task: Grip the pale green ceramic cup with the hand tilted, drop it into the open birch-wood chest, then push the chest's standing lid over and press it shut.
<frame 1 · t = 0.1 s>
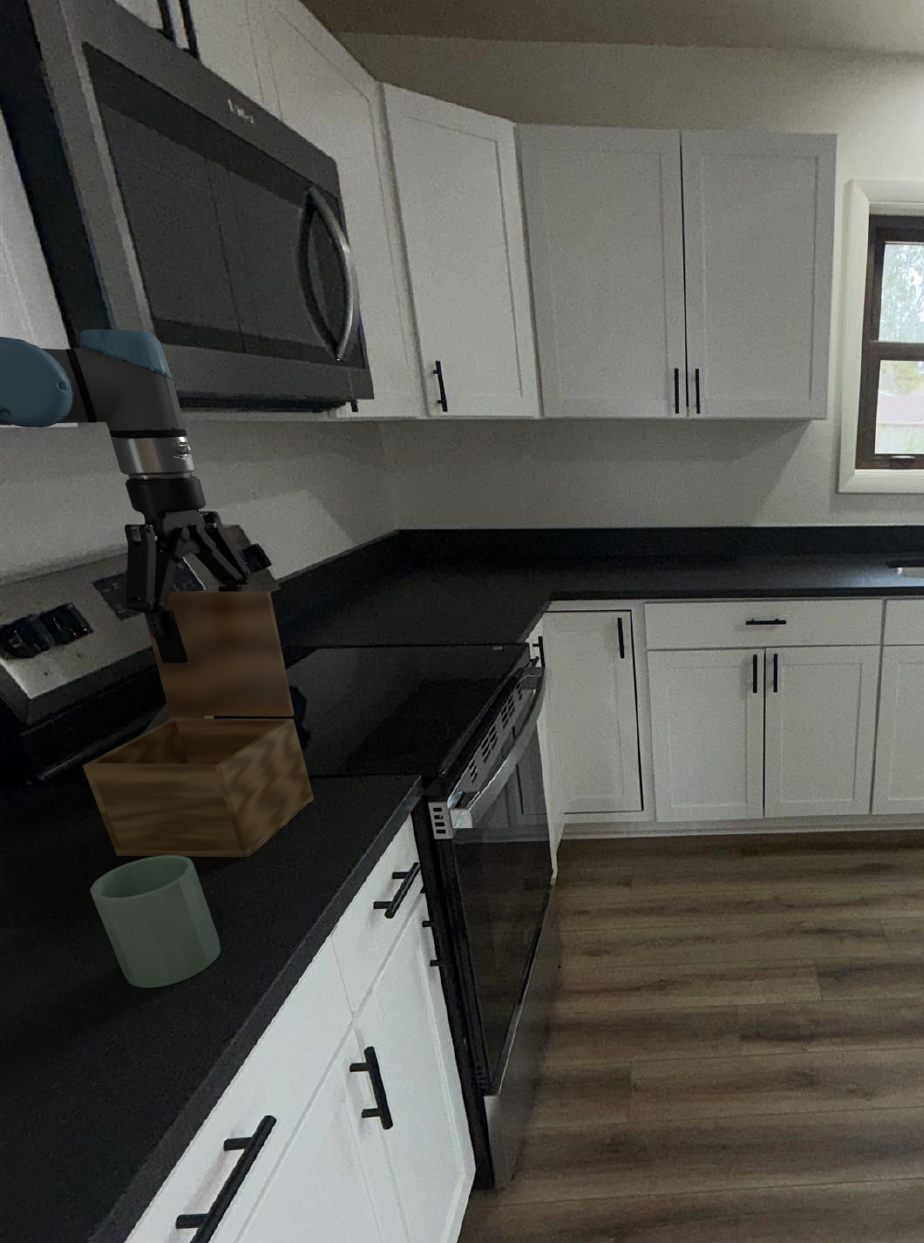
hand: (211, 647, 105), 22 cm above the counter, tool pointing down, fingers open, 13 cm apart
cup: (174, 961, 81), on the counter
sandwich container: (165, 775, 121), on the counter
chest: (222, 826, 106), on the counter
lid: (218, 655, 105), point 21 cm above the counter, hinge at 95.0°
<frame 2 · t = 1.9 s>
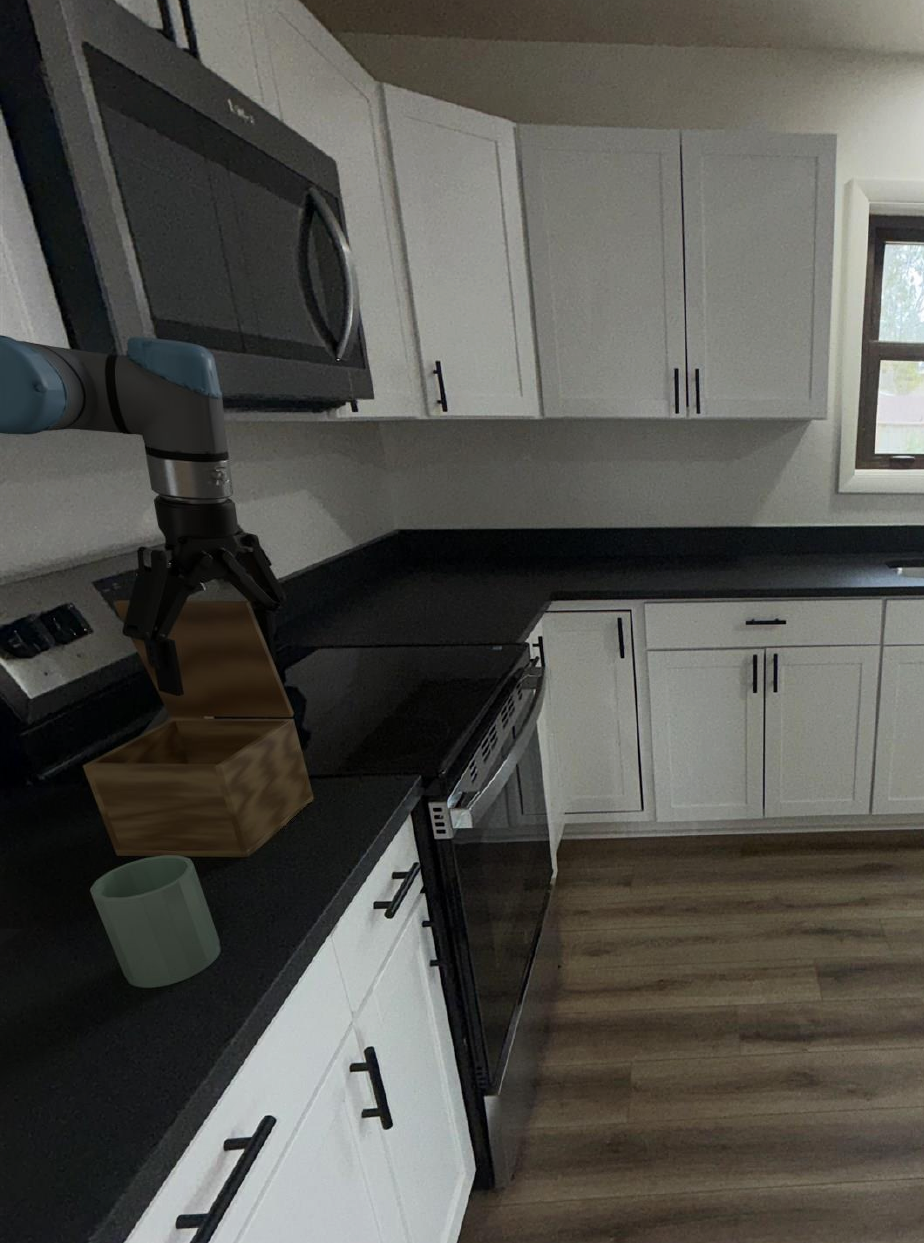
hand: (221, 675, 98), 21 cm above the counter, tool pointing down, fingers open, 13 cm apart
lid: (207, 661, 103), point 21 cm above the counter, hinge at 78.9°, touching gripper
everything else where it was.
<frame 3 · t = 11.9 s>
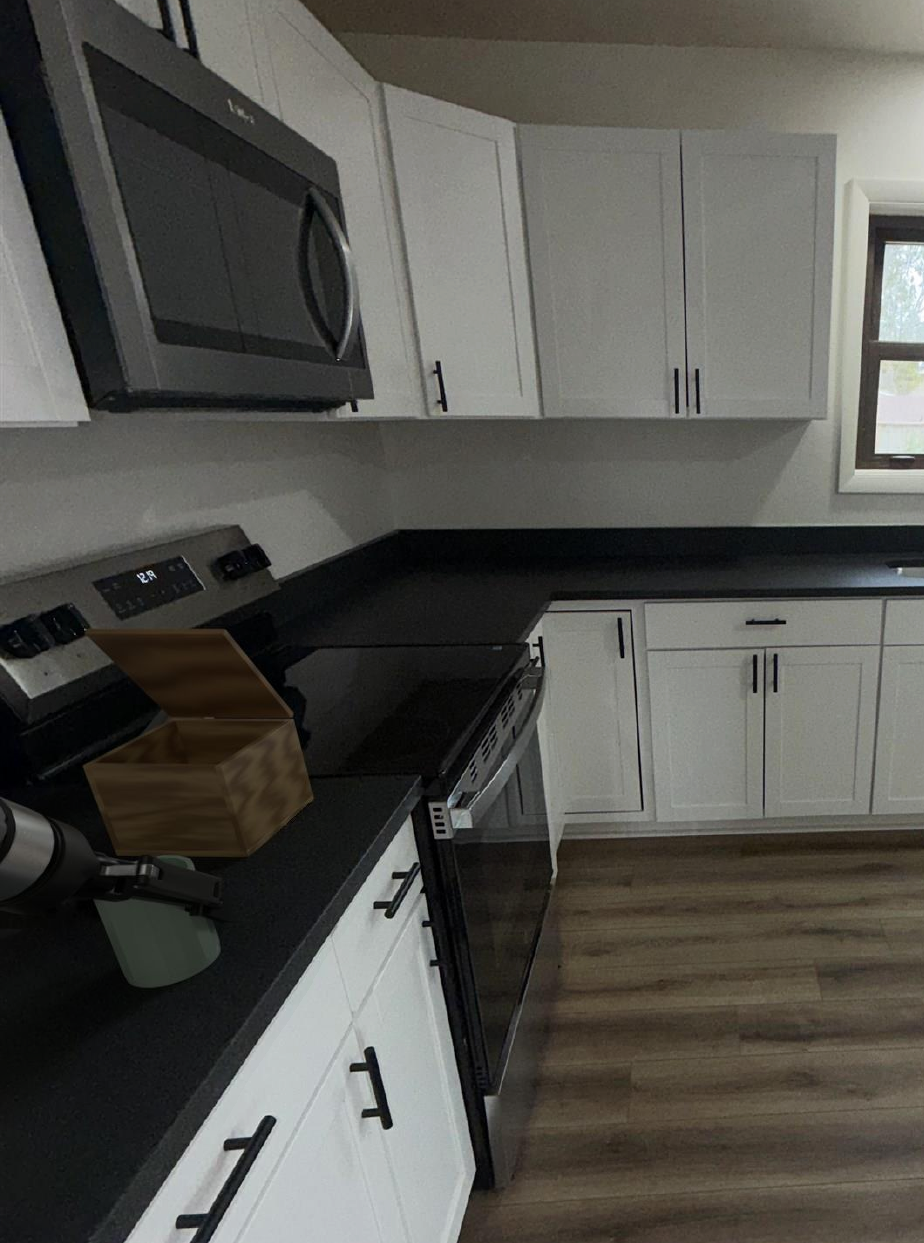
hand: (181, 912, 82), 4 cm above the counter, tool tilted 45°, fingers closed on cup, 8 cm apart
cup: (174, 961, 80), on the counter, touching gripper
lid: (196, 676, 101), point 20 cm above the counter, hinge at 57.9°
everything else where it was.
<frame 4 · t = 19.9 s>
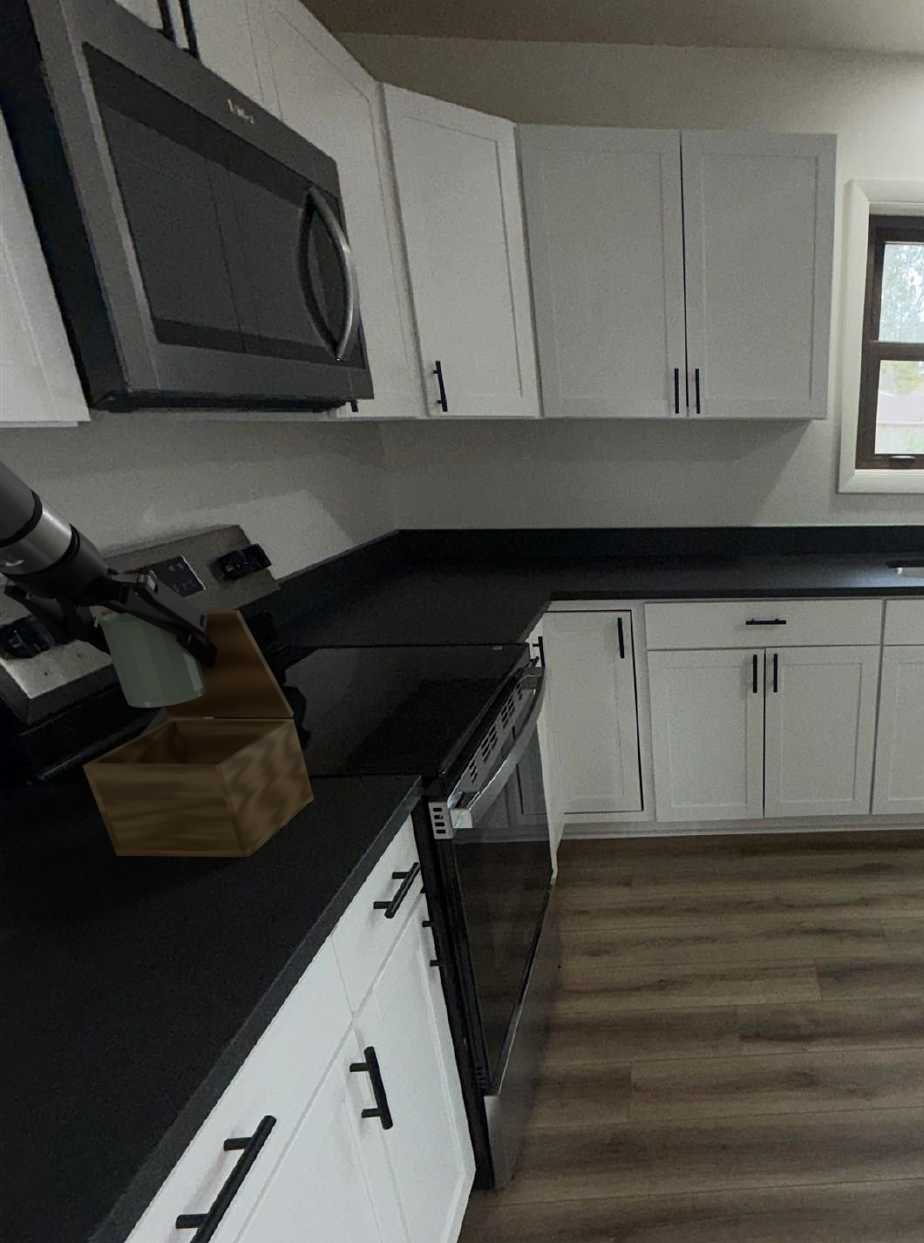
hand: (174, 658, 98), 23 cm above the counter, tool tilted 45°, fingers closed on cup, 8 cm apart
cup: (168, 696, 97), point 19 cm above the counter, touching gripper
lid: (202, 666, 102), point 20 cm above the counter, hinge at 70.5°
everything else where it was.
when the fingers open (23 cm above the counter, at t = 19.9 s): cup drops 18 cm, resting on chest.
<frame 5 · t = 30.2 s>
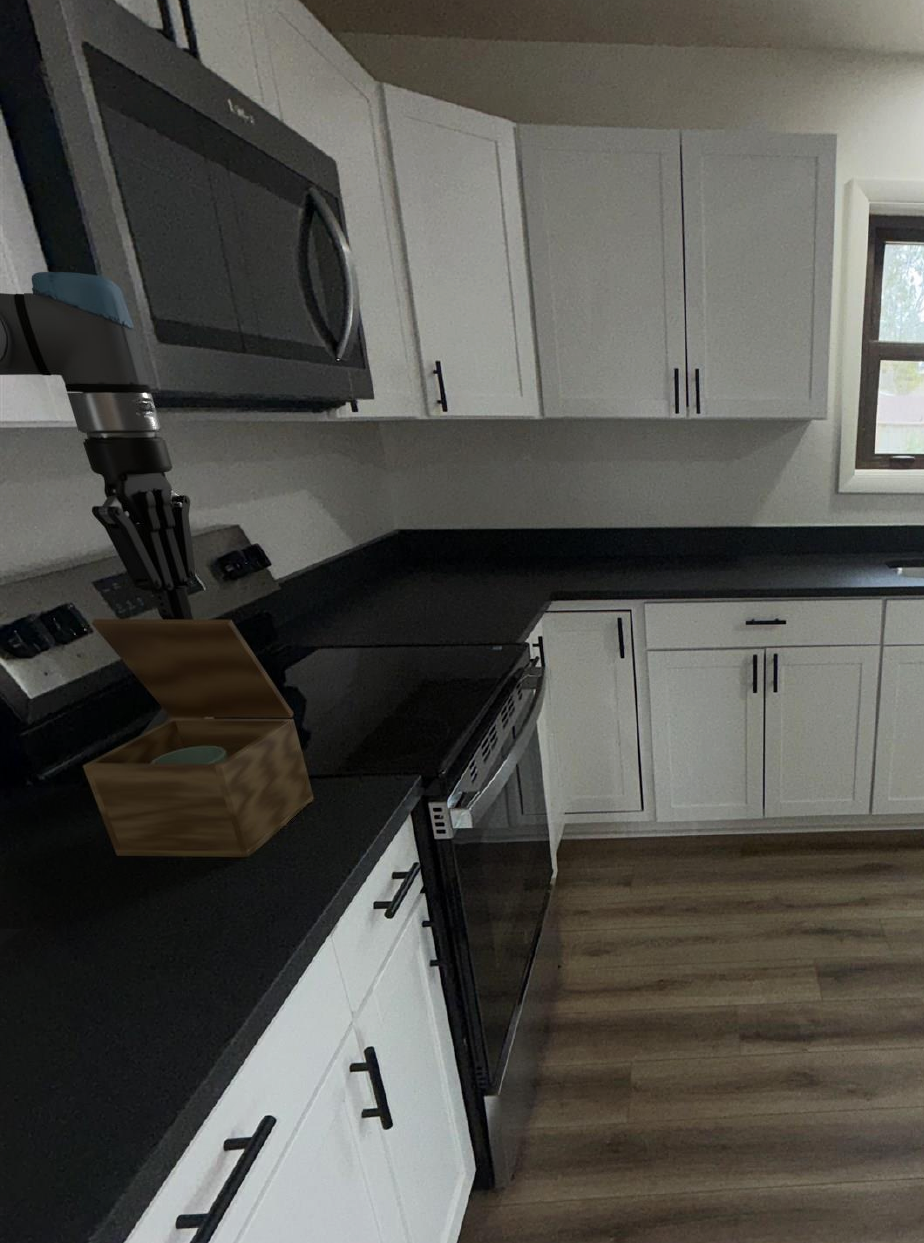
hand: (184, 641, 99), 24 cm above the counter, tool pointing down, fingers closed
cup: (210, 828, 104), point 1 cm above the counter, touching chest
lid: (198, 671, 102), point 20 cm above the counter, hinge at 63.6°, touching gripper
everything else where it was.
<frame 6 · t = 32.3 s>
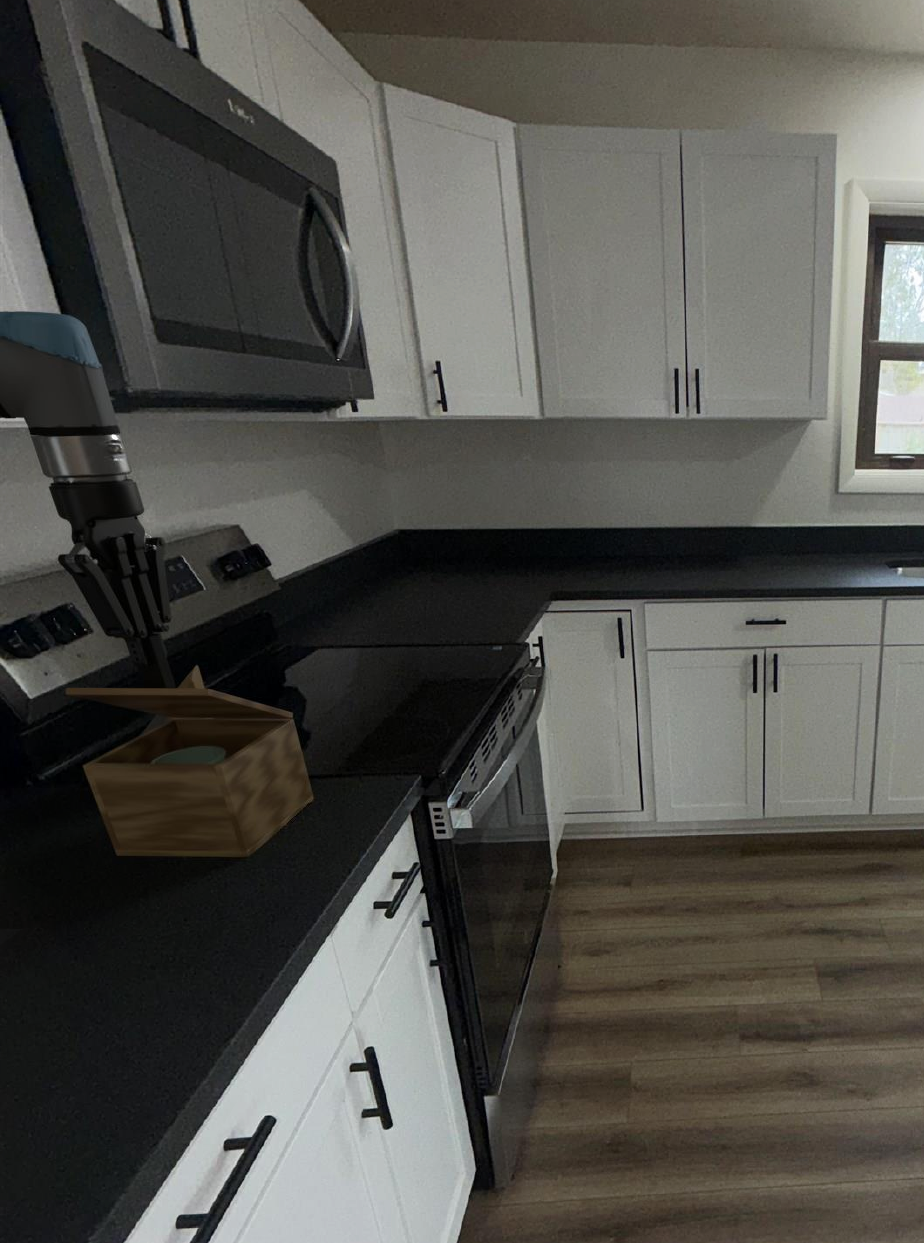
hand: (160, 688, 95), 20 cm above the counter, tool pointing down, fingers closed
lid: (188, 704, 100), point 17 cm above the counter, hinge at 30.3°
everything else where it was.
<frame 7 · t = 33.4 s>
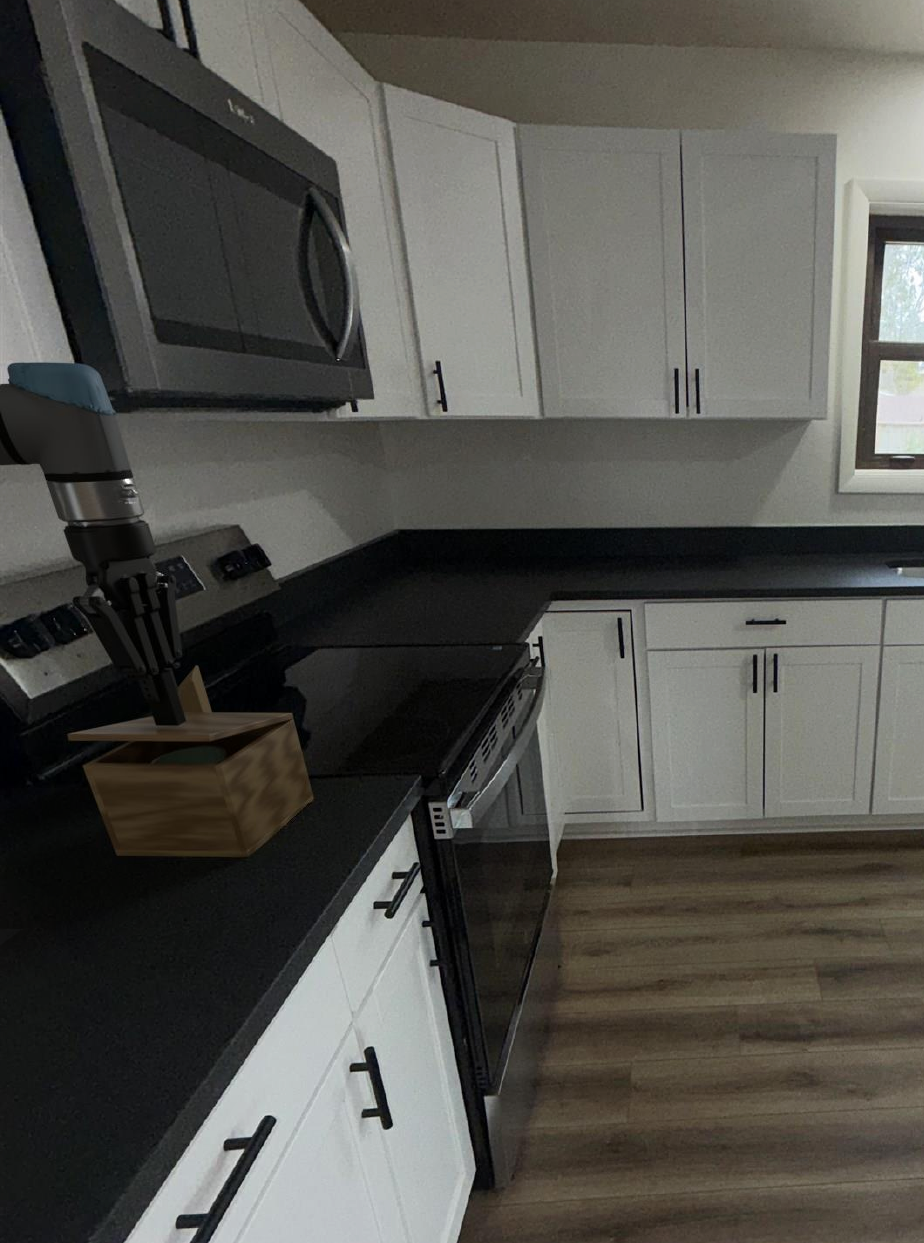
hand: (171, 723, 97), 16 cm above the counter, tool pointing down, fingers closed
lid: (189, 725, 100), point 14 cm above the counter, hinge at 11.7°, touching gripper
everything else where it was.
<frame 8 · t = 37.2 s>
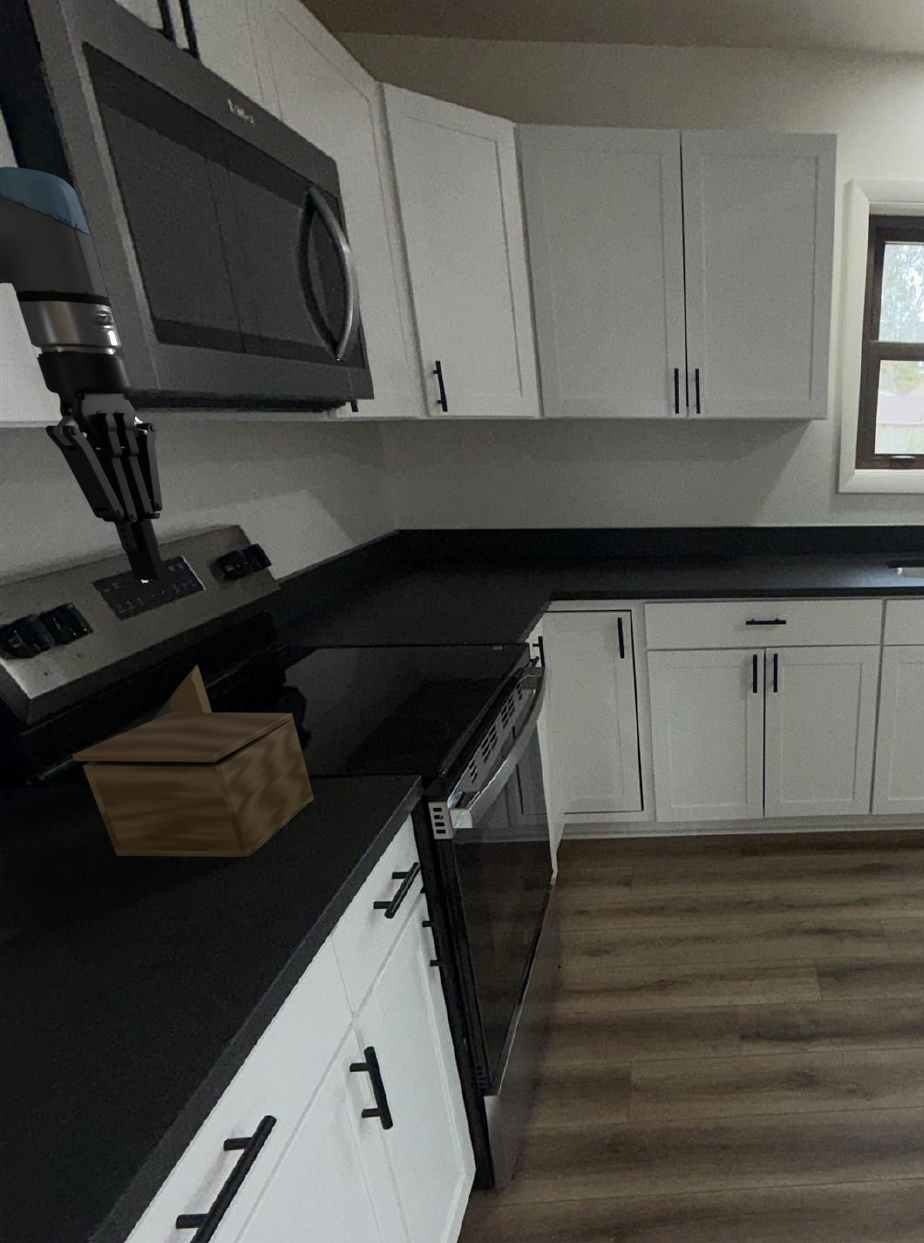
hand: (150, 578, 94), 32 cm above the counter, tool pointing down, fingers closed
lid: (191, 735, 100), point 13 cm above the counter, hinge at 3.1°
everything else where it was.
at the end: cup inside the target area in the chest (2.1 cm from its centre), point 0.8 cm above the chest's base; lid at +3° (first picture: +95°) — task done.
